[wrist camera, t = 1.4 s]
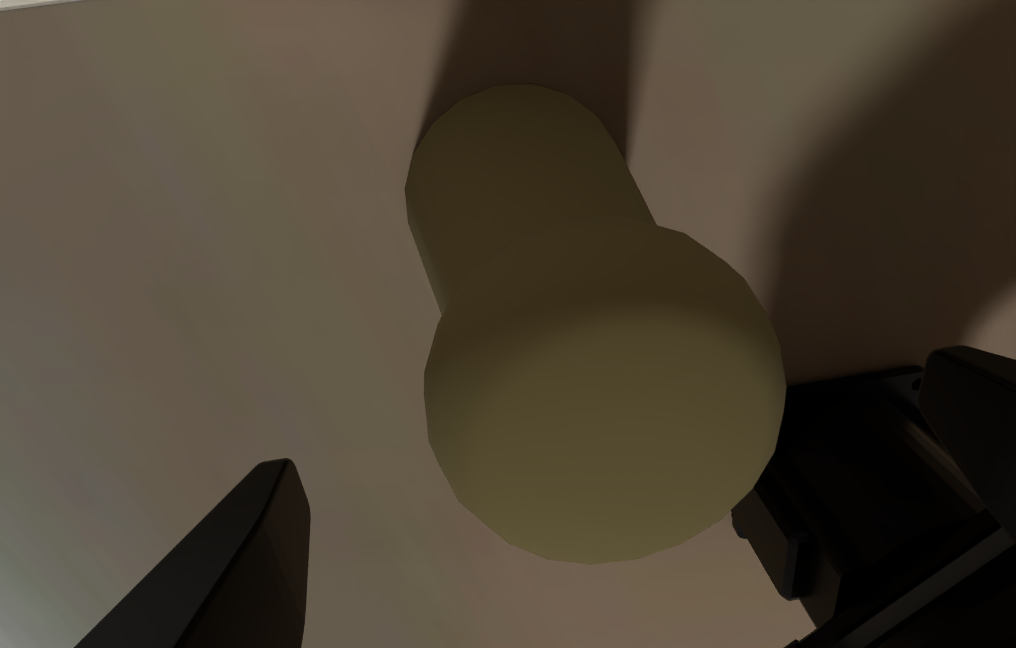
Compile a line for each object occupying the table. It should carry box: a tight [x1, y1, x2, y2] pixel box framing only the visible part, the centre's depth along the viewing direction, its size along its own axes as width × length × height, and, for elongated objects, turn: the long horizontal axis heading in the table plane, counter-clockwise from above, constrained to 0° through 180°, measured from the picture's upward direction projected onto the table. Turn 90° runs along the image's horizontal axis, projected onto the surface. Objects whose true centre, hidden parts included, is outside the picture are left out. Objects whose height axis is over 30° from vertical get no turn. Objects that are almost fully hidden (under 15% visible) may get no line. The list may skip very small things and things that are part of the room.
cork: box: [405, 84, 787, 564], centre depth 13 cm, size 6×6×11 cm
